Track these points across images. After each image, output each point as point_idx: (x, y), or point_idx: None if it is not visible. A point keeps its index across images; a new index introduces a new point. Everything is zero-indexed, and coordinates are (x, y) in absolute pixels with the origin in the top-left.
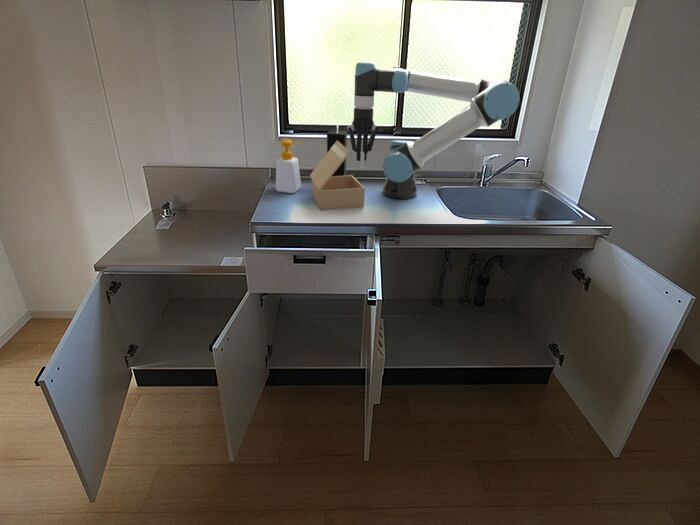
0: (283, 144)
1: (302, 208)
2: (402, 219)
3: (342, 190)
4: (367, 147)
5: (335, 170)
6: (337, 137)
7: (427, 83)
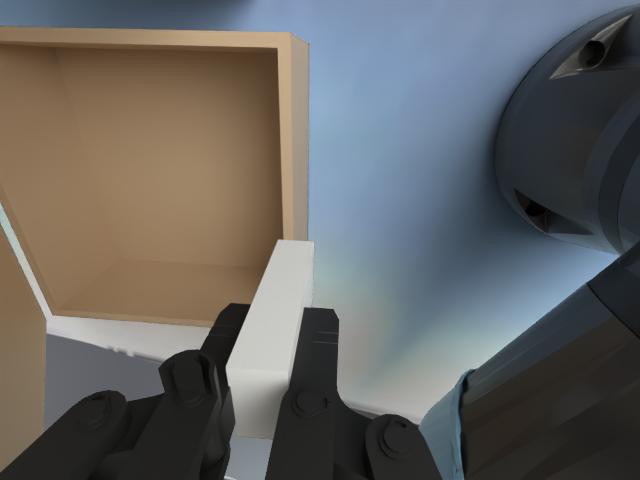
0: None
1: None
2: (400, 392)
3: (170, 319)
4: (369, 477)
5: (40, 425)
6: None
7: None
